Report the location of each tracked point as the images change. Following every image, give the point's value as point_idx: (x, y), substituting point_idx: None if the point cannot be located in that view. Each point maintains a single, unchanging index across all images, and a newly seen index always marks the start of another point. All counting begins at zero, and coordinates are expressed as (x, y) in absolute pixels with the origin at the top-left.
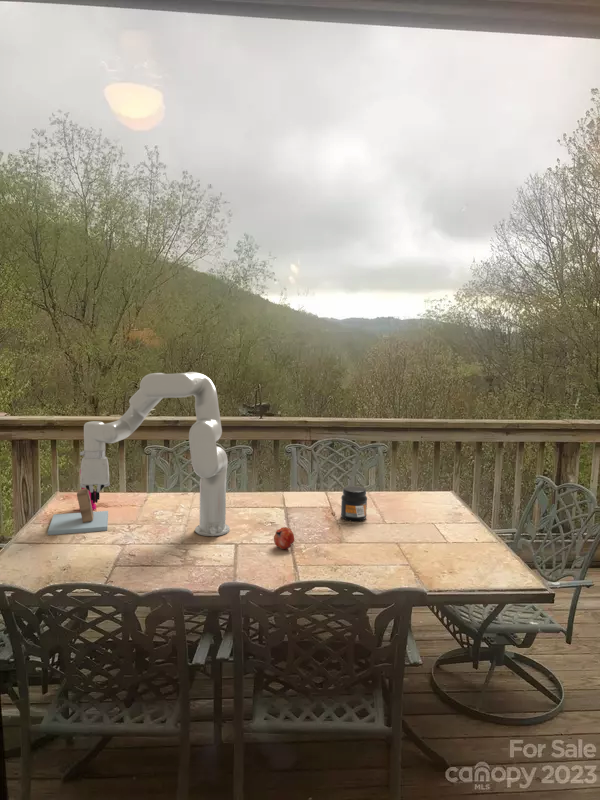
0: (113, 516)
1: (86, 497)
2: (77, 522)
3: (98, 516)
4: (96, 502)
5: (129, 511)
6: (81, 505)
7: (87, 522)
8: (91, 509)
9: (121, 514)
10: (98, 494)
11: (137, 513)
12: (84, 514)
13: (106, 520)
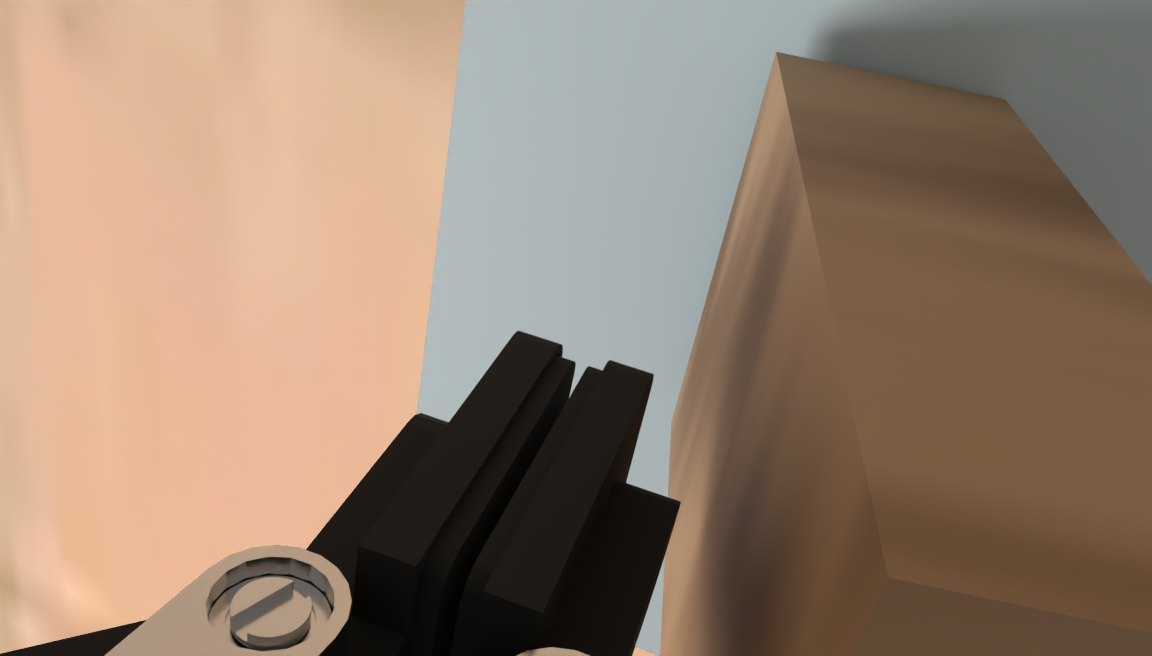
0: (359, 391)
1: (906, 416)
2: (1111, 198)
3: (593, 361)
4: (543, 340)
5: (136, 481)
6: (1099, 308)
7: (901, 77)
8: (718, 367)
9: (241, 417)
10: (361, 524)
11: (26, 337)
12: (978, 156)
13: (486, 22)
